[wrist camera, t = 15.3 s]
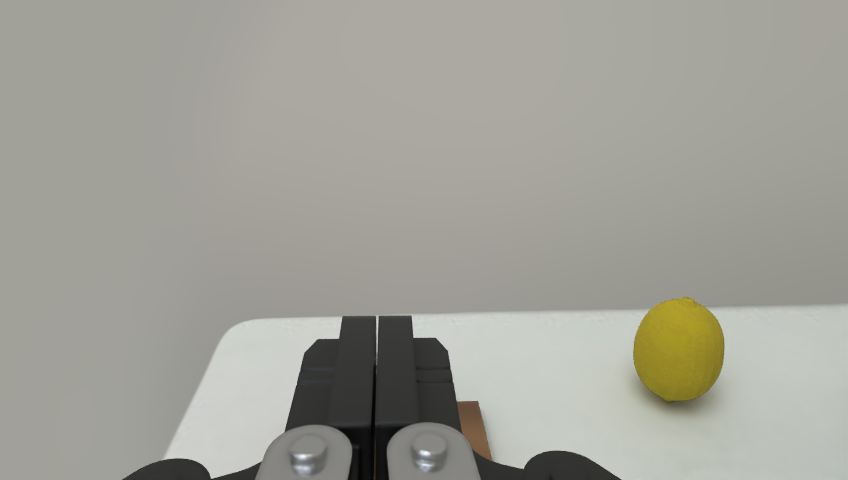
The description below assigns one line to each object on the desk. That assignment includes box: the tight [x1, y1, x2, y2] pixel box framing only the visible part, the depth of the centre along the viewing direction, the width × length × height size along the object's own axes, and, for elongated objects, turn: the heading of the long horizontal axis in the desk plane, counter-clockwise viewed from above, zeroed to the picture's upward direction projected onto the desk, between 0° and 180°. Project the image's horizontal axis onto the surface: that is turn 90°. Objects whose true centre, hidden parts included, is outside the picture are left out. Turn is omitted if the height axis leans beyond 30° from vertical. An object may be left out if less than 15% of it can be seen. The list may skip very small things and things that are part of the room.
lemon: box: [633, 297, 724, 402], centre depth 38 cm, size 6×6×8 cm
